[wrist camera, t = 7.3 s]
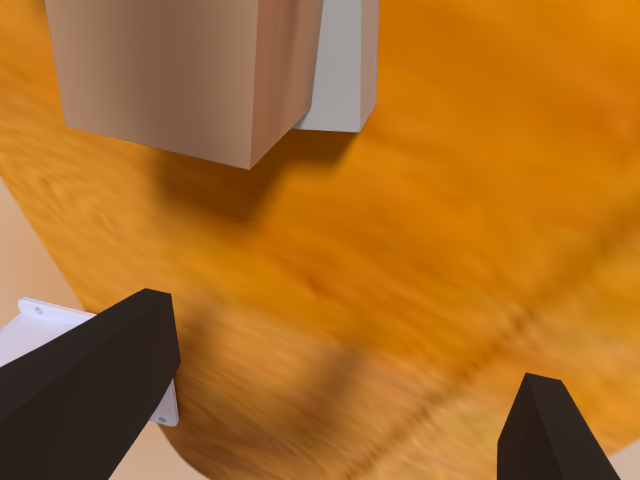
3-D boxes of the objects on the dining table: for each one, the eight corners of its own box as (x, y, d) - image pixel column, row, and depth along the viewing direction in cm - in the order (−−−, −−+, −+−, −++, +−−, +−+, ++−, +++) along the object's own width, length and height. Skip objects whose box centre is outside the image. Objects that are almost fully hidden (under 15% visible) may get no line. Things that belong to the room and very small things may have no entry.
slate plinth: (204, 95, 19) (157, 121, 16) (170, -122, 16) (102, -138, 13) (377, 102, 18) (360, 132, 15) (384, -140, 14) (362, -163, 11)
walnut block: (173, 78, 15) (65, 126, 11) (166, -95, 13) (24, -116, 9) (310, 107, 15) (249, 170, 11) (331, -70, 12) (262, -80, 8)
